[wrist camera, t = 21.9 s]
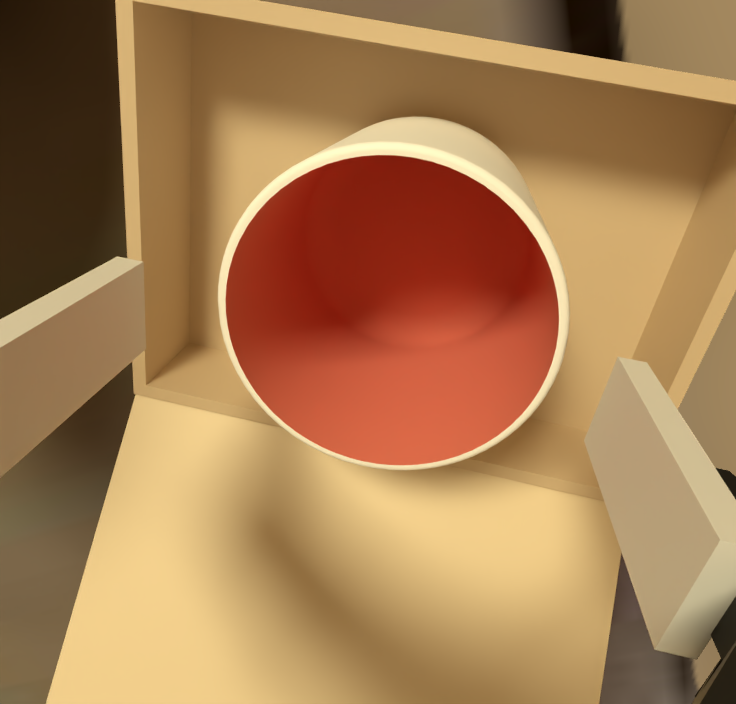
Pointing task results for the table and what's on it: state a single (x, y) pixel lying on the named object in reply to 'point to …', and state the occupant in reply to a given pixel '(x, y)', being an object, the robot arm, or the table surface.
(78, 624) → the lid
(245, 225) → the cup
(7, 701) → the table surface
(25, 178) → the table surface
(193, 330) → the box
